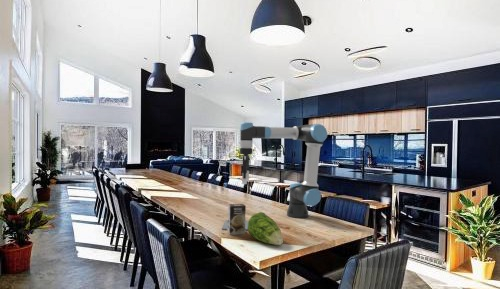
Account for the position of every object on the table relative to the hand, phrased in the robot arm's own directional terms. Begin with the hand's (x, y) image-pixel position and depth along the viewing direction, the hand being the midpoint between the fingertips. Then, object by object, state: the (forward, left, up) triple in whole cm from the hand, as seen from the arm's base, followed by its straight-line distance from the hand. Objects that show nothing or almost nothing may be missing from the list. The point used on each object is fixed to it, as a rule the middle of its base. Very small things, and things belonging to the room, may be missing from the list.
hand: (245, 182), depth 184 cm
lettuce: (-13, +26, -27) cm, 40 cm away
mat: (+4, 0, -27) cm, 27 cm away
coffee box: (+4, +13, -27) cm, 31 cm away
